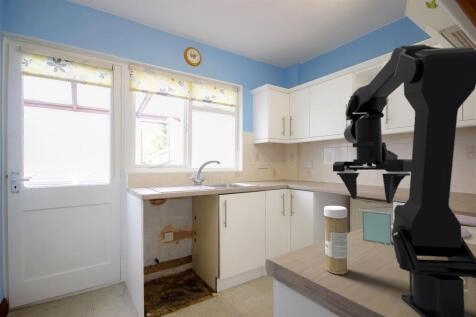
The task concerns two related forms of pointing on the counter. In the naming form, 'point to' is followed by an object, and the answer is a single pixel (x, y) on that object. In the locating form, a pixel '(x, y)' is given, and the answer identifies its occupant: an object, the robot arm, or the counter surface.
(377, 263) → the counter surface
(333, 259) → the sprinkles bottle
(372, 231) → the tile
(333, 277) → the counter surface
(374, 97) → the robot arm
